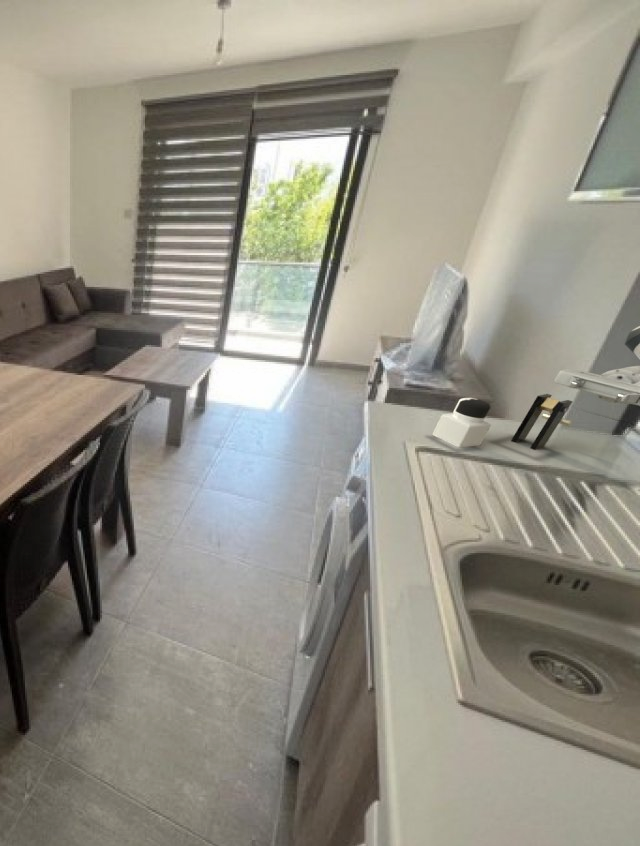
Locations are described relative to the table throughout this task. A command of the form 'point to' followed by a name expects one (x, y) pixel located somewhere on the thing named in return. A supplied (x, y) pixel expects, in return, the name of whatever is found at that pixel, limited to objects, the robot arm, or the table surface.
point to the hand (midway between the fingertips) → (595, 391)
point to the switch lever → (550, 406)
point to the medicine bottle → (464, 423)
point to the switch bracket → (549, 425)
